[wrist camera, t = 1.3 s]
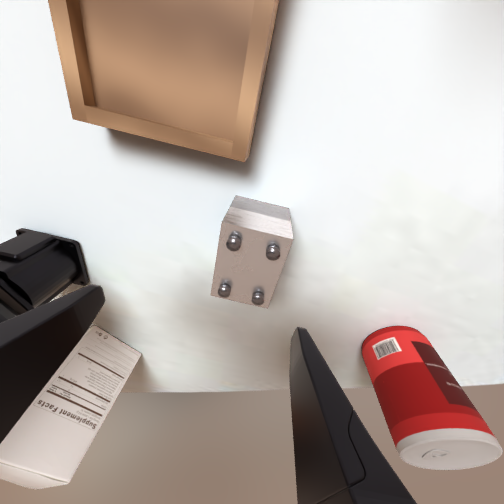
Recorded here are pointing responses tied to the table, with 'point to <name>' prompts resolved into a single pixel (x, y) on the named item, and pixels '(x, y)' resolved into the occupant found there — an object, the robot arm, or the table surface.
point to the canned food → (425, 403)
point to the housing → (251, 251)
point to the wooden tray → (167, 67)
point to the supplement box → (67, 413)
